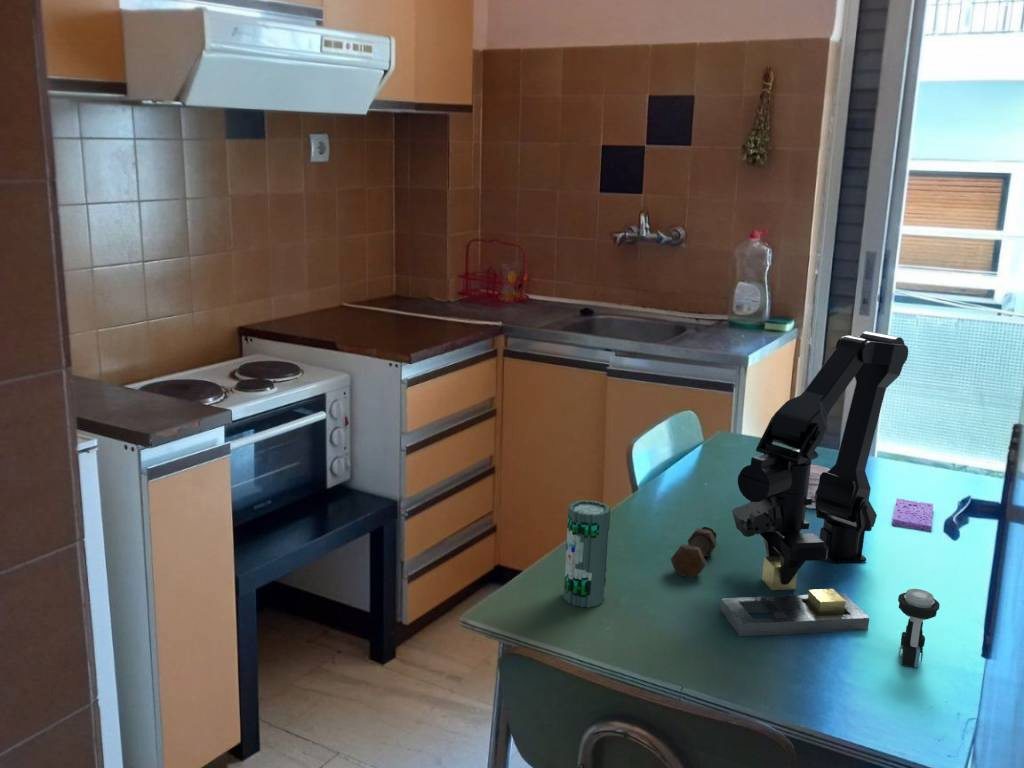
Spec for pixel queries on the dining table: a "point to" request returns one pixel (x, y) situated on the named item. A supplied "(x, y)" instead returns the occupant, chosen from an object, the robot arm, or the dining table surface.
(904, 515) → the sponges
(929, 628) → the dining table surface
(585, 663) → the dining table surface
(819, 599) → the tan wooden cube
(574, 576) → the can
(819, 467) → the teacup
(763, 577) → the beige wood block
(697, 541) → the bolt
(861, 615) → the rectangular frame
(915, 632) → the push button
